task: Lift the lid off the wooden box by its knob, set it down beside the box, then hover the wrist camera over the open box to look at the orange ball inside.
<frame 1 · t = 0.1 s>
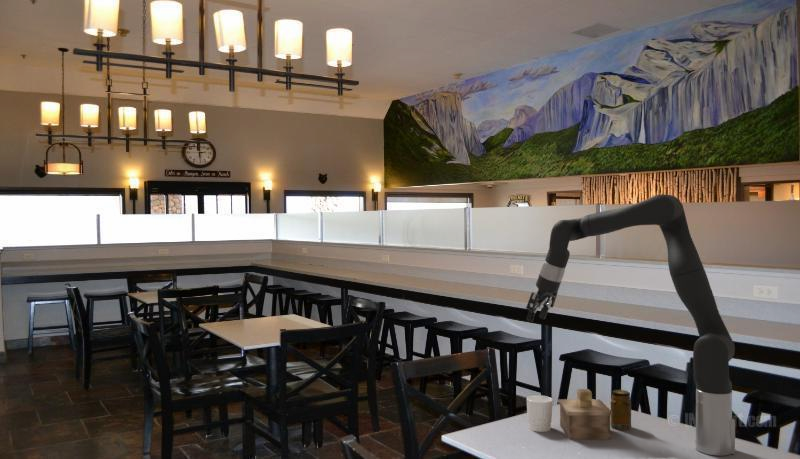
hand: (535, 319, 221), 31 cm above the table, tool tilted 20°, fingers open, 8 cm apart
condiment: (623, 431, 202), on the table
white cup: (539, 431, 202), on the table
lid: (584, 408, 198), point 8 cm above the table, touching box
ball: (584, 432, 198), point 1 cm above the table, touching box
box: (584, 434, 198), on the table
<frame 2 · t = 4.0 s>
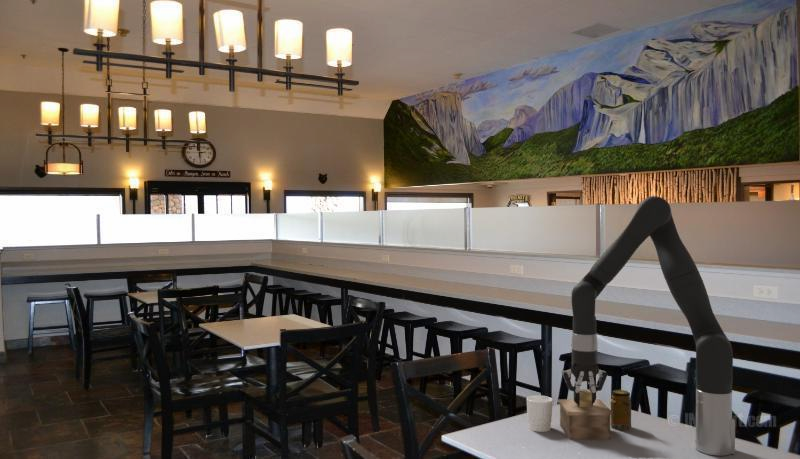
hand: (584, 403, 198), 9 cm above the table, tool pointing down, fingers closed on lid, 3 cm apart
lid: (584, 408, 198), point 8 cm above the table, touching box, gripper
everything else where it was.
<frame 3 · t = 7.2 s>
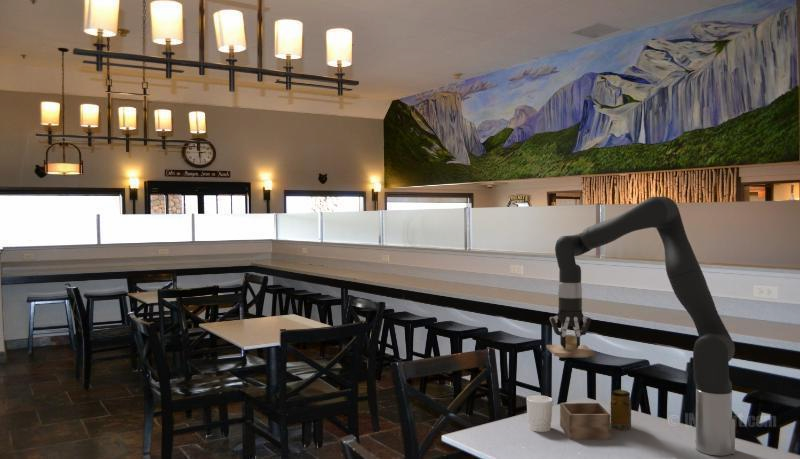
hand: (570, 347, 216), 23 cm above the table, tool pointing down, fingers closed on lid, 3 cm apart
lid: (570, 351, 216), point 22 cm above the table, touching gripper
everything else where it was.
when the fingers open (4 cm above the table, at t = 10.4 s): lid drops 2 cm, on the table.
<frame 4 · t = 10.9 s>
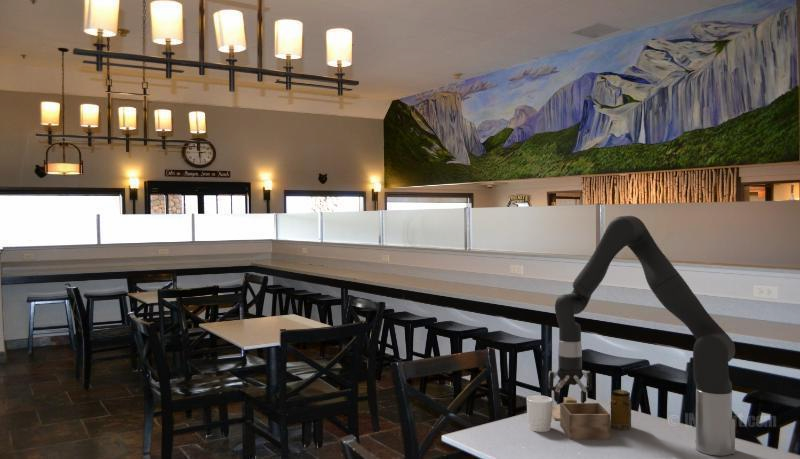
hand: (570, 402, 216), 5 cm above the table, tool pointing down, fingers open, 8 cm apart
lid: (570, 415, 216), on the table
everything else where it was.
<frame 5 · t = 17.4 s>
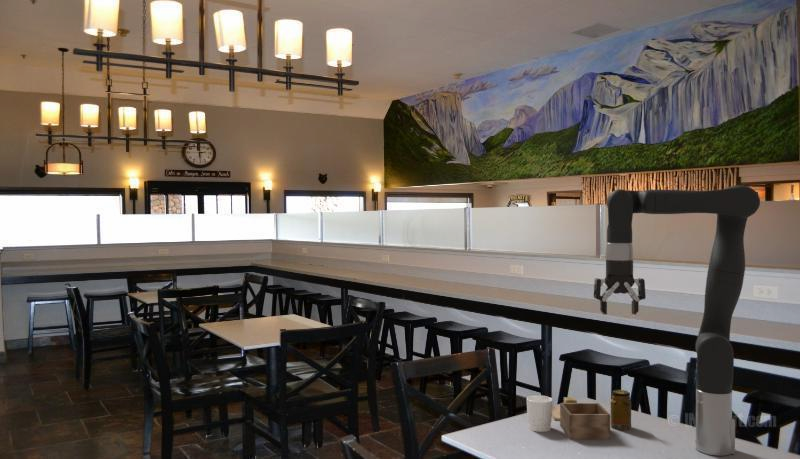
hand: (619, 314, 189), 38 cm above the table, tool pointing down, fingers open, 8 cm apart
nothing on the table moved.
at the end: lid inside the target area (0.0 cm from its centre), point 0.5 cm above the table; lid touching table; lid tilted 0° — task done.
